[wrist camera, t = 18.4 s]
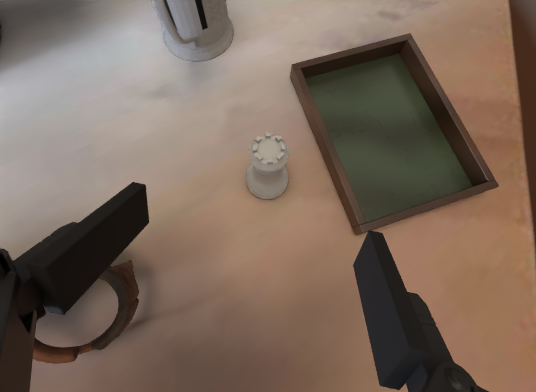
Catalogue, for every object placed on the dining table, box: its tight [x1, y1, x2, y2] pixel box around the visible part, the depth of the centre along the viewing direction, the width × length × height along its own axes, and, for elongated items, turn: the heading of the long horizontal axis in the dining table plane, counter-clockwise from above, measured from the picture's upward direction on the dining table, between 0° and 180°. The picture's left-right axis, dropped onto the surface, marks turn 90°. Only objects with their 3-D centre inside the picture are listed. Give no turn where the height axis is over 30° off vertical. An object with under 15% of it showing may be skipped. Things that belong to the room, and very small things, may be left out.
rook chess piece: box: [246, 132, 289, 199], centre depth 24 cm, size 4×4×8 cm
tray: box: [290, 34, 499, 235], centre depth 28 cm, size 20×15×2 cm
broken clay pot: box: [33, 260, 139, 364], centre depth 22 cm, size 12×10×8 cm
